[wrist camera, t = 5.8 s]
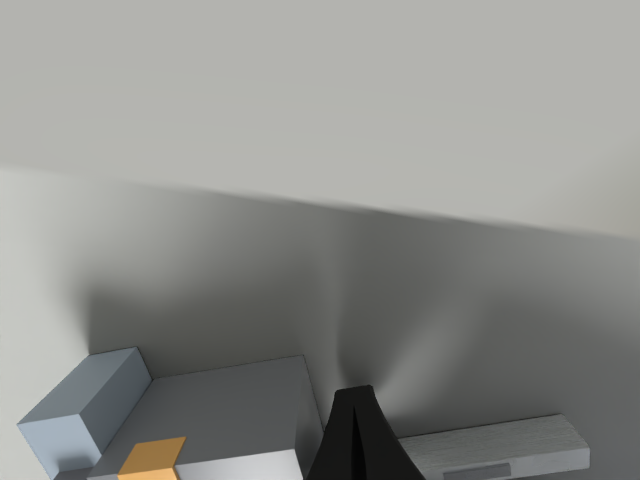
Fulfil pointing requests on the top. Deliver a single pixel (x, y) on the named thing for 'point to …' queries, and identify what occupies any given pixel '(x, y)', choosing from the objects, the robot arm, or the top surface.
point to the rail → (500, 450)
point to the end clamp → (85, 413)
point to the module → (220, 427)
